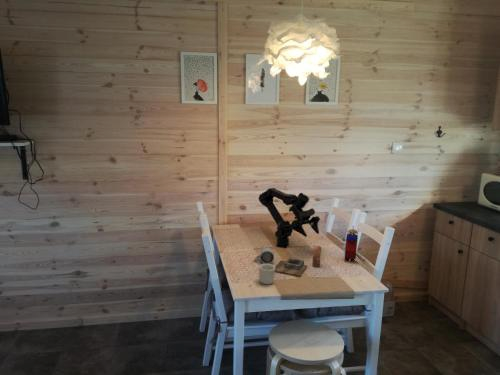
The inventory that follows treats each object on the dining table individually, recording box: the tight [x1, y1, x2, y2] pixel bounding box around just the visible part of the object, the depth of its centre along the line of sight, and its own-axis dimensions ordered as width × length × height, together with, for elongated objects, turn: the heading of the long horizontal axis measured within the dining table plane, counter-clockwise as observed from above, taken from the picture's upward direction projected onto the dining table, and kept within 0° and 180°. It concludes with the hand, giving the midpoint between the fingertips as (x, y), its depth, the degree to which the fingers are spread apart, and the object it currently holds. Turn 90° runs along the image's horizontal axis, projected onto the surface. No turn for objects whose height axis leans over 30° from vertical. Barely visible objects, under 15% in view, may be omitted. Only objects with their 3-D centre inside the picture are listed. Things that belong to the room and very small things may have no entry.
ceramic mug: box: [253, 247, 275, 264], centre depth 218 cm, size 11×8×8 cm
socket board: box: [274, 257, 308, 278], centre depth 209 cm, size 15×14×4 cm
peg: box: [311, 245, 322, 269], centre depth 214 cm, size 4×4×11 cm
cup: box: [258, 263, 276, 285], centre depth 195 cm, size 11×8×8 cm
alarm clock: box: [341, 225, 359, 263], centre depth 225 cm, size 15×9×20 cm, turn 163°
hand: (312, 235), depth 220 cm, fingers open, 9 cm apart
